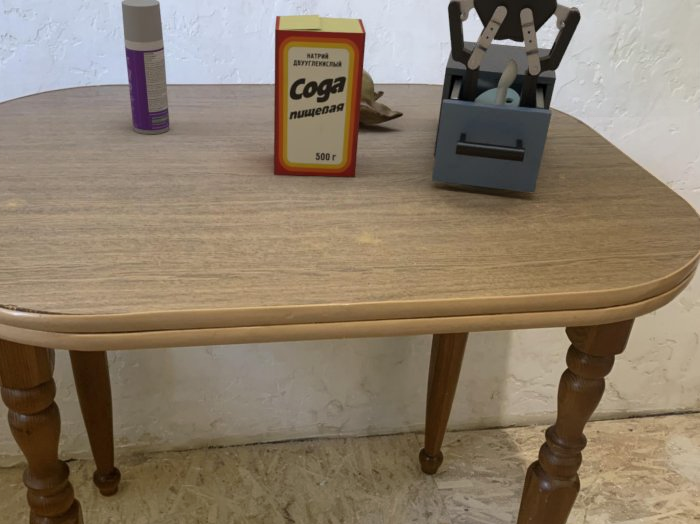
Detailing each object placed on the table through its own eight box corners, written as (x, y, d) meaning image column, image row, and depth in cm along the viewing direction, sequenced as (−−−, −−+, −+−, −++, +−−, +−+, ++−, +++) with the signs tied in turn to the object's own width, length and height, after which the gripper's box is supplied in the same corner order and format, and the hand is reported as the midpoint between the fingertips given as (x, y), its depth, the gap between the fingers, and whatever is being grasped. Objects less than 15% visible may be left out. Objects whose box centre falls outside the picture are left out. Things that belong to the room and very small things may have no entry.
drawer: (534, 209, 82) (553, 127, 77) (428, 196, 84) (439, 115, 79) (532, 154, 96) (548, 80, 90) (440, 144, 97) (451, 71, 92)
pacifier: (455, 122, 85) (510, 129, 84) (463, 62, 81) (520, 69, 80) (468, 104, 91) (519, 110, 89) (476, 47, 87) (530, 53, 85)
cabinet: (536, 167, 95) (556, 77, 88) (433, 155, 96) (445, 67, 90) (534, 131, 105) (552, 49, 99) (442, 121, 107) (453, 40, 101)
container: (126, 127, 101) (112, 0, 92) (156, 120, 103) (146, -4, 94) (146, 137, 98) (134, 8, 89) (176, 129, 101) (168, 3, 91)
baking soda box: (351, 156, 95) (361, 15, 86) (354, 176, 90) (366, 29, 80) (275, 154, 95) (276, 12, 85) (273, 174, 90) (275, 25, 80)
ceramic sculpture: (282, 42, 103) (388, 48, 106) (277, 108, 108) (379, 111, 112) (297, 65, 95) (412, 70, 98) (291, 135, 100) (400, 137, 103)
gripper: (452, -71, 74) (429, 108, 84) (606, -61, 72) (563, 122, 82) (457, -80, 80) (435, 89, 90) (599, -71, 78) (560, 101, 88)
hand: (496, 104), depth 86 cm, fingers closed on pacifier, 5 cm apart
